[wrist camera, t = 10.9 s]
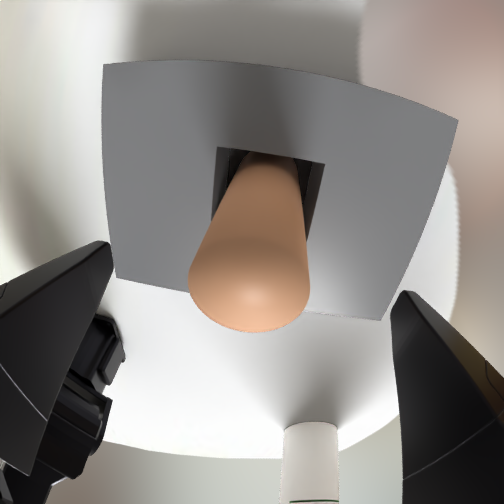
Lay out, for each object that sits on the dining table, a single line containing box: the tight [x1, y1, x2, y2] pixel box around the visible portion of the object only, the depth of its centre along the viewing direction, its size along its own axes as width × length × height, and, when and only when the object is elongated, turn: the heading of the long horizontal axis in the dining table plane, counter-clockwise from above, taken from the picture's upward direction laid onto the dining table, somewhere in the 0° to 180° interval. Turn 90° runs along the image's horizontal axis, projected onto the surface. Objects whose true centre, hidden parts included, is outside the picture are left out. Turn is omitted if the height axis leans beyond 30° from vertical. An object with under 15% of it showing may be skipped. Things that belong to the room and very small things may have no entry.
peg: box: [188, 151, 310, 332], centre depth 12 cm, size 3×3×10 cm
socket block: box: [102, 60, 458, 321], centre depth 15 cm, size 16×12×4 cm
